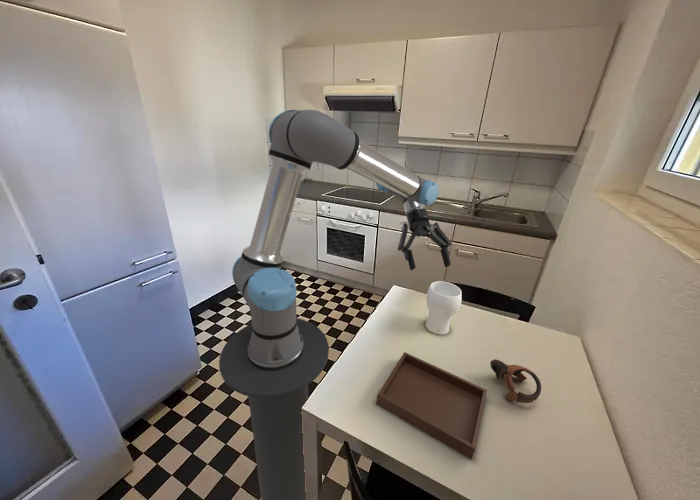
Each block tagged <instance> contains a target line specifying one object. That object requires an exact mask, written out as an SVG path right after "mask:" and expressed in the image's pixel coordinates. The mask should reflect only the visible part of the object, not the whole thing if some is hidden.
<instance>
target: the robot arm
mask: <svg viewBox="0 0 700 500" xmlns="http://www.w3.org/2000/svg"><path fill="white" fill-rule="evenodd" d="M268 139H269V142H270V146H269V150H268V155H267V156H268V158H269V160H270V162H271V167H270V170H269V173H268V178H267V182H266V186H265V189H264V193H263V196H262V198H261V199H262V201H261V203H260V206H259V207H260V208H259V211H258V215H257V219H256V222H255V226H254V230H253V233H252V236H251V241H250V244H249V245H248V246H246V247H244V248H243V249H242V252H241V256H240V257H238V258H237V259H236V260H235V262H234V264H233V265H232V270H231V274H232V280H233V282H234V285H235V287H236V288H237V290H238V291H239V293H240V294H241V296H242V298H243V299H244V301H245V303H246V304H247V306H248V308H249V312H250V320H251V324H252V329H253V331H252V334H251V339H250V341H249V344H248V348H247V351H248V358H249V360H250V362H251V363H252V364H253V365H254V366H255V367H257V368H259V369H263V370H279V369H283V368H286V367H288V366H290V365H292V364H293V363H295V362H296V361H297V360H298V359H299V358H300V357H301V355H302V353H303V348H304V343H303V338H302V336H301V335H302V334H300V333H301V332H300V330H299V329H298V327H297V323H296V318H297V286H296V285H297V284H296V280H295V277H294V276H293V275H292V274H291V273H290V272H289V271H287V270H286V269H282V265H283V261H284V258H283V256H282V255H281V251H282V248H283V247H282V246H283V243H284V240H285V236H286V234H287V229H288V226H289V224H290V219H291V216H292V212H293V209H294V206H295V203H296V199H297V196H298V192H299V189H300V186H301V182H302V179H303V175H304V174H306V173H308V172H309V171H311V168H312V164H313V163H318V164H324V165H326V166H331V167H334V168H336V169H338V170H340V171H343V170H349V171H351V172H353V173H354V174H357V175H360V176H361V177H363V178H365V179H367V180H369V181H372V182H374V183H375V185H376V188H377V189H378V190H379V191H381V192H382V193H384V194H389V195H391V196H395V197H398V198H401V200H402V205H403V207H404V213H405V215H406V220H407V223H404V224H403V225H402V226H401V228H400V229H401V234H400V238H399V241H398V244H397V245H398V246H397V251H401V253H403V254H404V258H405V261H407V263H408V267H409V270H410V271H413V270H415V269H416V262H415V259H414V258H415V257H414V255H413V251H412V249H410V248H411V246H412V244H413V242H414V240H415V239H416V237H417V238H420V237H422V238H424V237H426V238H428V239H430V240H431V241H432V242H433V243H435V244H436V245H437V246H438V247H439V248H440V250H439V251H440V254H441V258H442V261H443V265H444V268H448V267H450V266H451V265H452V263H451V259H450V256H451V253H450V250H449V248H450V247H451V246H452V244H453V243H452V241H451V240H450V239H449V238H448V236H447V235H446V234H445V232H443V230H442V229H441V227H440V225H439V223H438V222H437V221H435V222H434V223H430V217H429V214H428V210H427V207H426V206H430V205H432V204H434V203H435V202H436V200H437V198H438V196H439V193H440V189H439V184H438V183H437V182H436V181H433V180H431V179H425V178H423V177H421V175H418V174H416V173H415V172H412V171H411V170H409V169H408V168H406V167H404V166H403V165H401V164H399V163H398V162H396V161H394V160H393V159H391V158H389V157H388V156H386V155H385V154H383V153H381V152H380V151H378V150H377V149H375V148H373V147H371V146H370V145H368V144H367V143H365V142H363V141H362V140H361V137H360V135H359V134H358V133H357V132H356V131H354V130H352V129H351V128H350V127H347V126H346V125H344V124H343V123H341V122H340V121H338V120H337V119H335V118H333V117H331V116H330V115H328V114H326V113H324V112H322V111H320V110H316V109H304V110H299V109H288V110H285V111H282V112H280V113H279V114H277V115H276V116H275V117H274V118H273V120H272V121H271V123H270V125H269V129H268ZM409 231H410V232H411V234H410V235H409V238H408V240H407V235H408V232H409ZM406 241H407V242H406Z"/></svg>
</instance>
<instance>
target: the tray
mask: <svg viewBox="0 0 700 500" xmlns="http://www.w3.org/2000/svg"><path fill="white" fill-rule="evenodd" d="M487 394H488V389H486V388H484V387H481V386H479V385H477V384H475V383H473V382H471V381H469V380H467V379H465V378H462V377H460V376H458V375H456V374H453V373H451V372H449V371H447V370H445V369H442V368H440V367H438V366H436V365H434V364H432V363H429V362H427V361H426V360H423V359H421V358H418V357H417V356H414V355H412V354H410V353H407V352H406V351H404V352H403V354H402V355H401V357H400V358H399V360H398V362H397V363H396V365H395V366H394V367H393V369H392V371H391V372H390V374H389V376H388V377H387V379H386V380H385V382H384V384H383V385H382V387H380V390H379V391H378V393H377V395H376V396H377V397H376V402H375V404H376V405H378V406H380V407H381V408H383V409H385V410H387V411H388V412H389V413H392V414H394V415H395V416H397V417H398V418H400V419H402V420H403V421H406V422H407V423H409V424H410V425H412V426H415V427H416V428H417V429H419V430H421V431H422V432H424V433H426V434H428V435H430V436H432V437H433V438H435V439H437V440H438V441H440V442H442V443H444V444H445V445H446V446H449V447H450V448H452V449H454V450H455V451H457V452H458V453H460V454H462V455H464V456H466V457H467V458H469V459H470V460H472V459H473V457H474V454H475V451H476V449H477V443H478V439H479V438H478V437H479V433H480V429H481V424H482V419H483V414H484V408H485V405H486V404H485V403H486V399H487Z"/></svg>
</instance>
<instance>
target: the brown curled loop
mask: <svg viewBox="0 0 700 500" xmlns="http://www.w3.org/2000/svg"><path fill="white" fill-rule="evenodd" d="M490 368H491V370H492V371H493V373H494V374H495V377H496V379H497V380H499V378H500V377H504V382H505V386H506V388H507V390H508V392H509V393H507V394H505V398H506V399H507V400H508V401H509V402H516V403H520V404H530V403H533V402H534V401H537V399H538V398H539V397H540V395H541V392H542V383H541V381H540V378H539V377H538V376H537V374H535V372H533V371H532V370H531V369H529V368H527V367H524V366H521V365H519V364H506V363H505V362H504V361H501V360H499V359H496V358H495V359H492V360H490ZM522 372H526V373H527V374H528V375H530V376H531V377H532V378H533V381H534V382H535V384H536V389H535V391H534V392H533V393H532V394H525V393H523V392H522V391H518V393H517V392H516V390H515V389H516V386H515V384H514V382H513V376H514V377H516V378H517V379H519V381H521V382H522V383H523V382H524V381H525V380H527V379H528V378H527V376H526V375H525V374H524V373H522Z"/></svg>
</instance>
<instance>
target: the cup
mask: <svg viewBox="0 0 700 500" xmlns="http://www.w3.org/2000/svg"><path fill="white" fill-rule="evenodd" d="M426 291H427V292H426V297H425V299H426V306H427V308H428V316H427V319H426V321H425V324H424V325H425V328H426V330H428V331H429V332H431V333H432V334H435V335H446V334H448V333H449V332H450V325H451V324H450V323H451V319H452V317H453V316H454V315H455V314H456V313H457V312H458V310H459V309H460V307H461V305H462V299H463V297H462V296H463V295H462V289H461V288H460V287H459V286H457V285H455V284H454V283H452V282H447V281H441V280H439V281H437V280H436V281H434V282H432V283H430V285H429V287H428V289H427V290H426Z"/></svg>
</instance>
